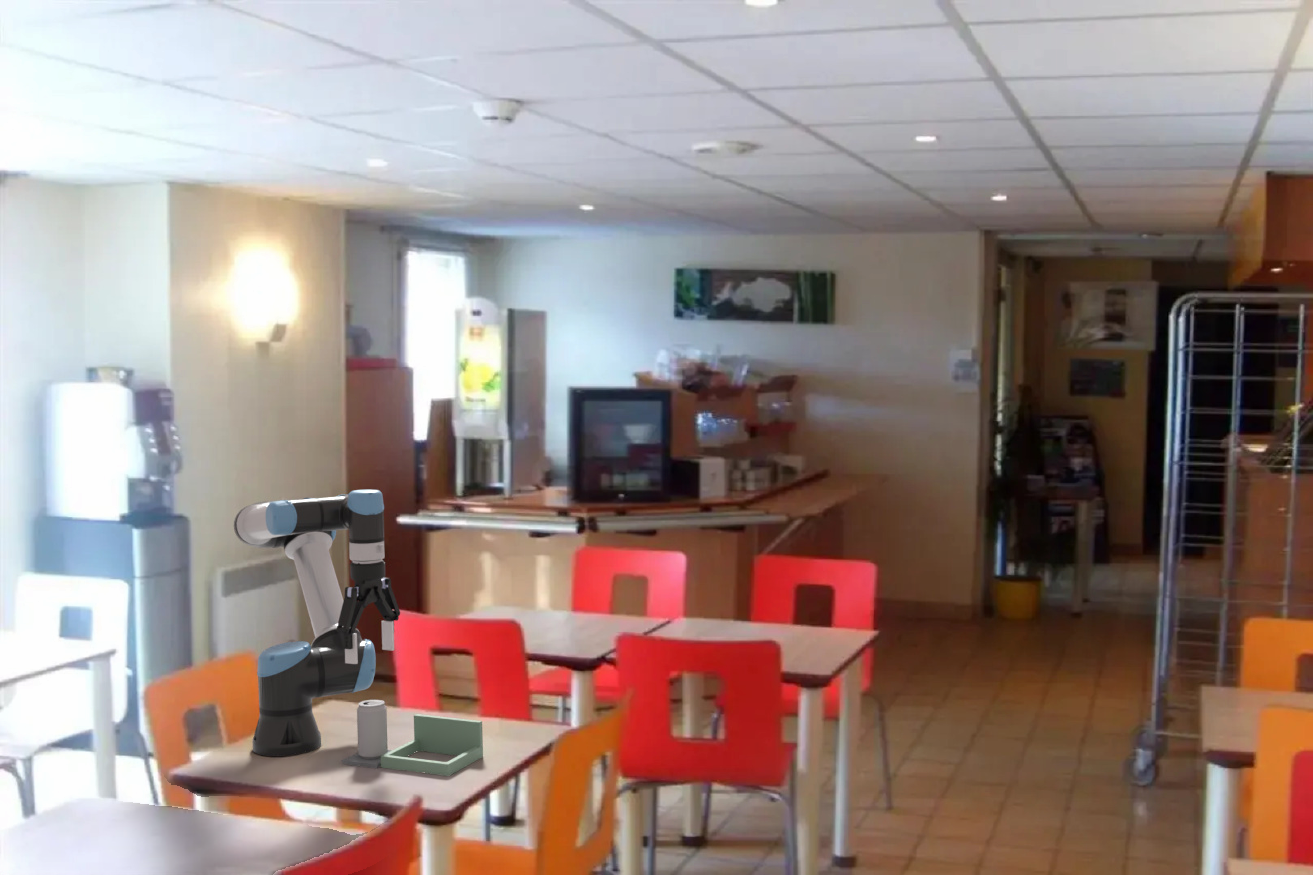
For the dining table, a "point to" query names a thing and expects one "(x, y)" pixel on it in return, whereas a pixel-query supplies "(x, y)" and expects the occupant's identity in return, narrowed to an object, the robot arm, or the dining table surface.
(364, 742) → the beverage can
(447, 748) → the green tray
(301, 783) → the dining table surface
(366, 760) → the mat
